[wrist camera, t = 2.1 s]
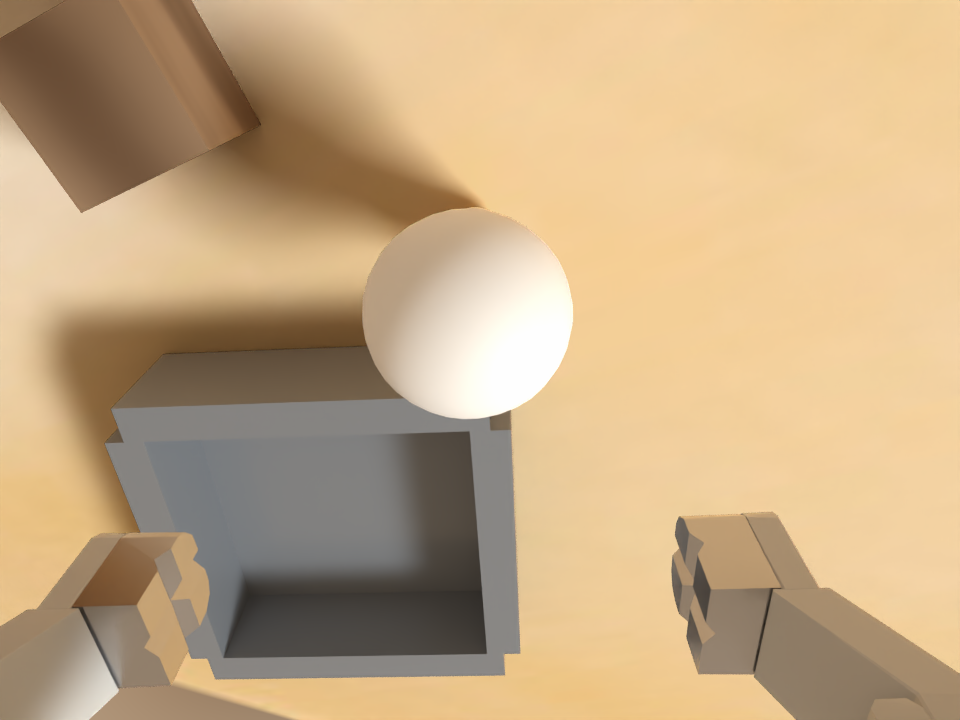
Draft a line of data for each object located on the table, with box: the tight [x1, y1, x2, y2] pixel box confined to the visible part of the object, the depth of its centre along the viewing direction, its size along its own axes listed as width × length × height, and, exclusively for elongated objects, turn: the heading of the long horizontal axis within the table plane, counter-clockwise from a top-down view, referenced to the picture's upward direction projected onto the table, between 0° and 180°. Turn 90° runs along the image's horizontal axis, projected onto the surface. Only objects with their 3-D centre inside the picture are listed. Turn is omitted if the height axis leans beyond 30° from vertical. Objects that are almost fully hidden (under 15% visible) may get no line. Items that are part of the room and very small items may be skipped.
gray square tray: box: [104, 346, 520, 679], centre depth 31 cm, size 16×16×4 cm
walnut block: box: [0, 0, 261, 213], centre depth 22 cm, size 5×5×5 cm
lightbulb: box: [362, 207, 573, 419], centre depth 21 cm, size 6×6×11 cm
